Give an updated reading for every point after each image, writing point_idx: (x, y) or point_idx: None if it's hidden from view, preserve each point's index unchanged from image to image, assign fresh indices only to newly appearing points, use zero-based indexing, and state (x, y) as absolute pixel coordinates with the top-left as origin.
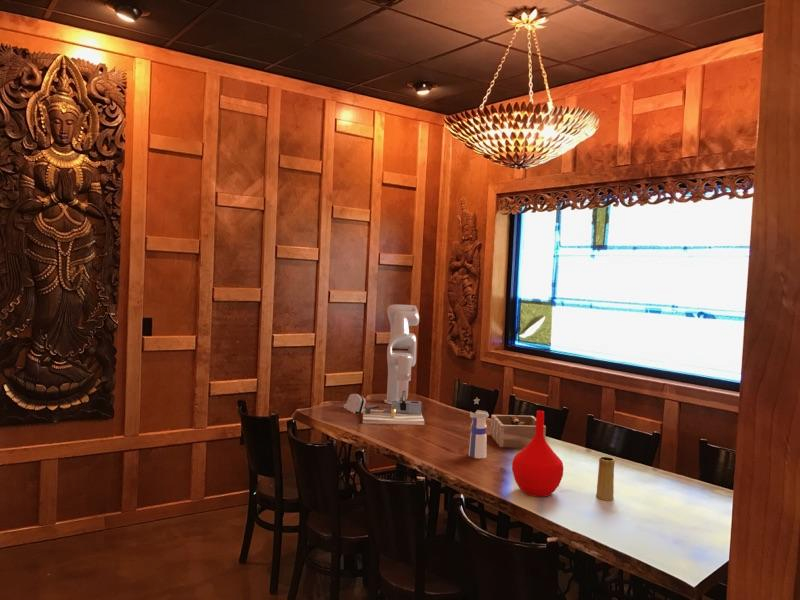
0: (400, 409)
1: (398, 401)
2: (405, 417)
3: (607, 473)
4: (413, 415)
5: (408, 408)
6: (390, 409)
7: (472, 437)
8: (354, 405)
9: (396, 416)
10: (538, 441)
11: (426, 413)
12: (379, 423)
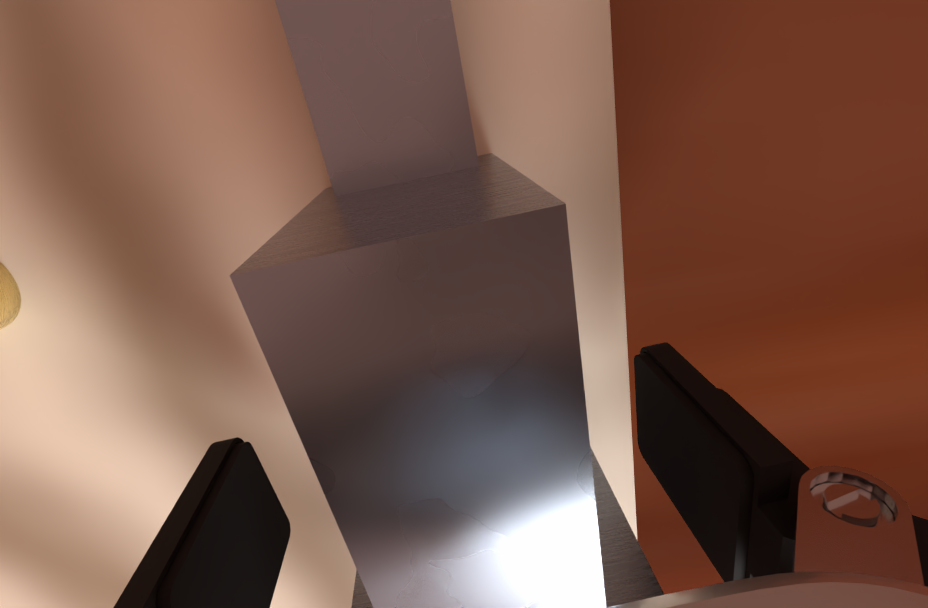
0: (209, 453)
1: (513, 461)
2: (106, 485)
3: None
4: (327, 553)
5: (359, 577)
6: (410, 149)
7: None
8: None
9: (76, 337)
10: None
11: (711, 571)
12: None
